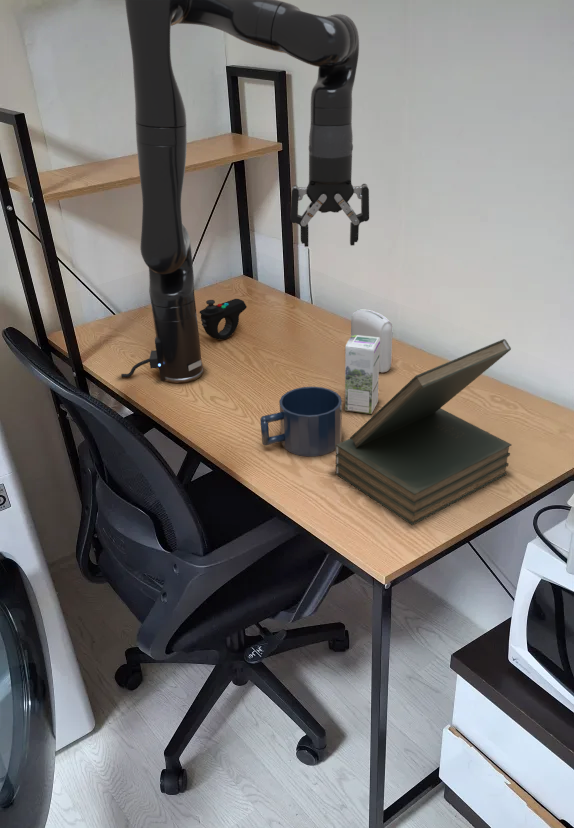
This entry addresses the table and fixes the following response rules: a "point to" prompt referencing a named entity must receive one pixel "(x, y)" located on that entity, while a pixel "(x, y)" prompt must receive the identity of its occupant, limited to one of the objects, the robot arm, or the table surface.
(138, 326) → the table surface
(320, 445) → the mug
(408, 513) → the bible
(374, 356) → the syrup box
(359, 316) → the photo printer
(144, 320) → the table surface
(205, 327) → the controller
